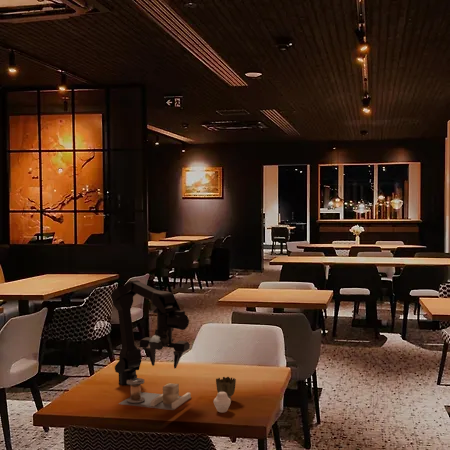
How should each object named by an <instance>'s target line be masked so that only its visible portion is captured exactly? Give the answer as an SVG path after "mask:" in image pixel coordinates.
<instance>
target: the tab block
mask: <svg viewBox="0 0 450 450" xmlns="http://www.w3.org/2000/svg"><path fill="white" fill-rule="evenodd" d="M179 388H180V387H179V383H171V382H169V383H167V384H165V385H163V386H162V394H163V403H165V404H172V403H173V402H174V401H176V400H177V399H179V396H180V390H179Z"/></svg>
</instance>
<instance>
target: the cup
mask: <svg viewBox="0 0 450 450" xmlns="http://www.w3.org/2000/svg"><path fill="white" fill-rule="evenodd" d="M236 382H237V379H236V378H234V377H230V376H226V377H225V376H223V377H222V378H220V377H218V378H215V384H216V385H215V386H216V390H217V394H218V393H219V392H226V393H227V396H228V398H230V400H231V399H232V396H233V395H234V394H235V391H236ZM231 401H232V400H231Z"/></svg>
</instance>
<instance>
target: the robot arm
mask: <svg viewBox="0 0 450 450" xmlns="http://www.w3.org/2000/svg"><path fill="white" fill-rule="evenodd" d="M110 295H111V301H112V305H113V306H114V308H115V309H116V310H117V314H118V322H119V331H120V332H119V333H120V338H121V349H120V351H119V355H118V360H119V361H118V362H117V363H116V364H115V366H114V371H115V373H117V374H118V385H120V386H127V387H128V386H130V385H129V384H127V380H128V379H132V378H138V375H137V371H139V370H140V368H141V364H142V360H143V357H142V350H143V351H145V352H146V353H147V354H148V358H149V360H150V363H151V365H152V367H154V366H155V364H156V351H157V350H158V351H161V350H162V349H164V348H170V349H171V348H172V349H173V350H174V351H173V355H174V356H173V357H174V358H173V368H174V369H177V367H178V364H179V362H180V360H181V358H182V355H183V353H185V352H186V351H188V350H190V348H191V347H190V345H191V344H190V343H189V341H186V340H185V341H184V340H179V341H176V342H174V338H173V331H174V330H179V331H184V330H186V329H187V328H188V327H189V324H190V319H189V317H188V316H187V314H186V311H185V310H181V308H180V305H179V304H178V303H179V302H178V300H177V298H176V297H175V294H174V293H173V292H170V291H166V290H164V291H163V290H158V289H156V288H153V287H152V286H149V285H147V284H146V283H143V282H141V281H140V280H138V279H134V280H129V281H127V282H126V283H125V284H123V285H121V286H118V287H117V288H114V289H113V291H112V292H111V294H110ZM137 295H139V296H141V297H143V298H145V299H147V300H149V301H150V302H151V304H152V306H153V307H155V309H154V310H153V311H152V312H153V314H156V315H157V316H156V329H154V334H153V335H152V336H151V337H148V336H147V337H144V338H141V339H140V340H139V342H138V343H139V345H138V346H139V348H137V346H136V344H135V337H134V328H133V322H132V313H131V312H132V311H131V310H132V309H131V308H132V306H133V303H134V297H135V296H137ZM140 348H142V350H141V349H140Z"/></svg>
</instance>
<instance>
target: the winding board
mask: <svg viewBox="0 0 450 450" xmlns="http://www.w3.org/2000/svg"><path fill="white" fill-rule="evenodd" d="M141 397H144V398H145V401H144V402H143V403H139V404H130V403H128V402H127V398H126V399H124V400H122V401H121V402H119V403H118V405H123V406H134V407H142V408H151V409H160V410H168V411H175V410H176V409H178V408H179V407H180V406H182V405H183V404H184V403H186V402H188V401H189V400H191V399H192V397H191V392H186V393H185V394H183V395H179V399H177V400H176V401H174V402H173V403H172V404H165V403H163V393H155V392H144V391H141Z"/></svg>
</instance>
